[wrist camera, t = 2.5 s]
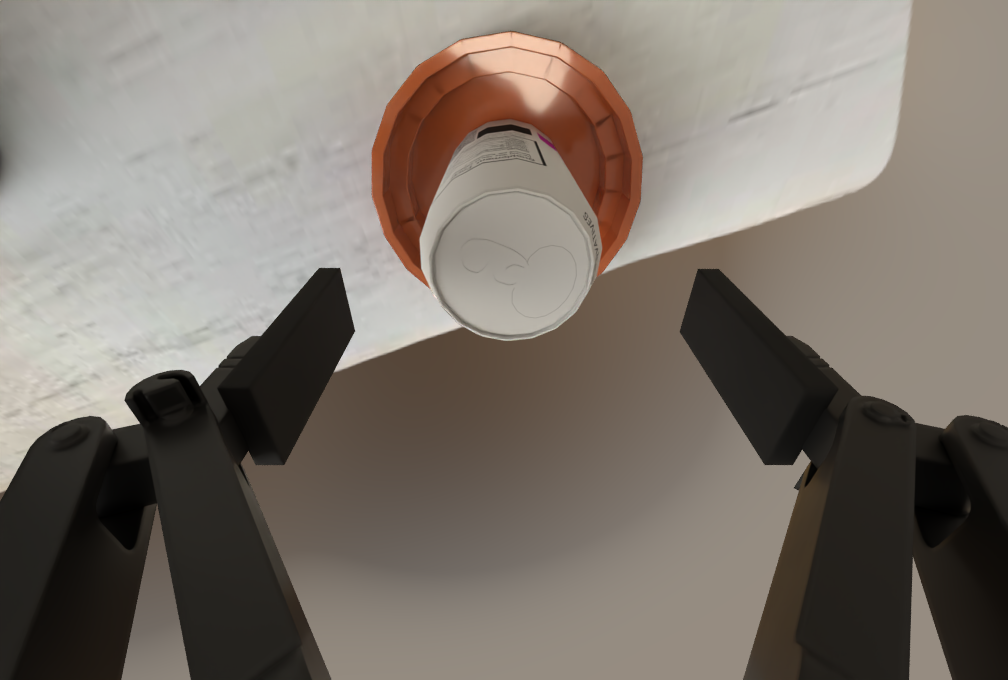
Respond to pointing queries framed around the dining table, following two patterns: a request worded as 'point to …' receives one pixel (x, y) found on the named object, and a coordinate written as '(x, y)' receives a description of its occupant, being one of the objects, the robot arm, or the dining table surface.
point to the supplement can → (509, 235)
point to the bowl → (499, 96)
